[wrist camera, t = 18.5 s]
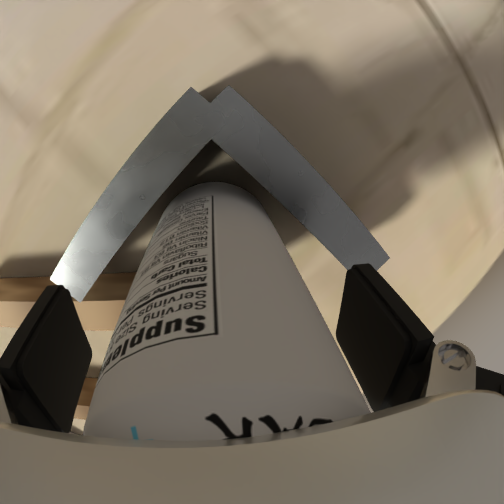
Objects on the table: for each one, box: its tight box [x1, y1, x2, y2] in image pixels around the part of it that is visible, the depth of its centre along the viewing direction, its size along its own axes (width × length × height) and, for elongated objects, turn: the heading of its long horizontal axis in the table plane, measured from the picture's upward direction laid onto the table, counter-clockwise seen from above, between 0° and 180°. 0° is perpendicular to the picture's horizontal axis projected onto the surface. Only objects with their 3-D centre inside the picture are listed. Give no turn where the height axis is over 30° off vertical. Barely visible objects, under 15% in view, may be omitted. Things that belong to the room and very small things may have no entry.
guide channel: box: [0, 272, 137, 420], centre depth 18 cm, size 13×12×3 cm
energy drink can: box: [83, 182, 371, 441], centre depth 10 cm, size 6×6×15 cm
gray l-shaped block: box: [50, 85, 390, 303], centre depth 14 cm, size 9×17×4 cm, turn 91°
